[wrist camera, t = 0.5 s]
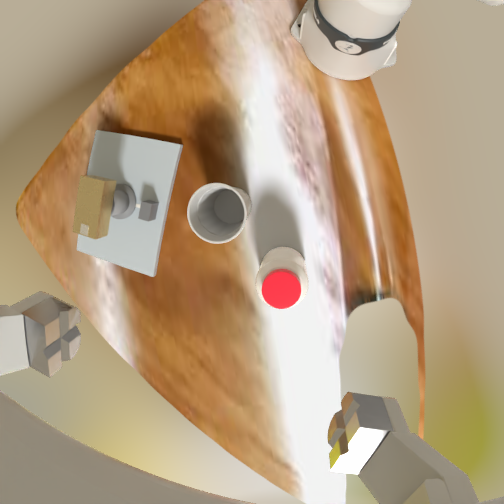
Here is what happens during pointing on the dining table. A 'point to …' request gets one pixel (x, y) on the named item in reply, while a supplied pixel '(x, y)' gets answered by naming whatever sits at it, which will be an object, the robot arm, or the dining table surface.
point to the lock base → (133, 198)
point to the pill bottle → (282, 278)
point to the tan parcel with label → (94, 206)
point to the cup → (218, 212)
